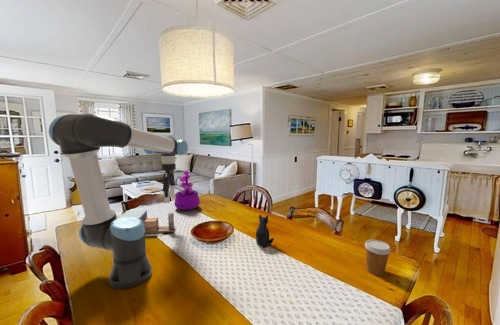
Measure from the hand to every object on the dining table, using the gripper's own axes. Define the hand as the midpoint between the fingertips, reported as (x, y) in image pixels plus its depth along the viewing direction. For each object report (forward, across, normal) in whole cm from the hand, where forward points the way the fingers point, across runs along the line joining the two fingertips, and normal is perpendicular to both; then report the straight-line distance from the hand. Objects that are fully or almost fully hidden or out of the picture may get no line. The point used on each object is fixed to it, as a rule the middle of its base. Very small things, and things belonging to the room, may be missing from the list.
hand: (169, 199), depth 132 cm
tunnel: (+20, +1, +17) cm, 26 cm away
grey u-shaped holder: (+19, +1, +6) cm, 20 cm away
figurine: (+20, -22, -52) cm, 60 cm away
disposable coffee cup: (+20, -51, -94) cm, 109 cm away
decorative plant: (+19, +42, -4) cm, 46 cm away
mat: (+19, +1, +9) cm, 21 cm away
